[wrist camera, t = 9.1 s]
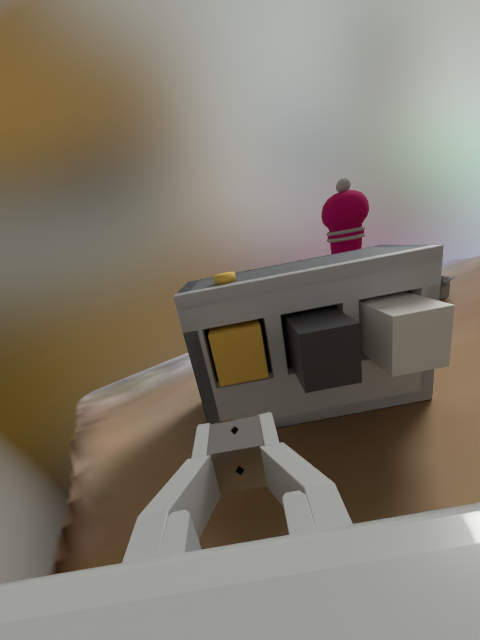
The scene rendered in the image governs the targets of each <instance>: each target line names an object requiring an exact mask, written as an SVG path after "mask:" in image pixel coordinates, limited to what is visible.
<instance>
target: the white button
mask: <svg viewBox="0 0 480 640" xmlns="http://www.w3.org/2000/svg"><path fill="white" fill-rule="evenodd" d="M454 308H455V305H453V304H449V303H446V302H442V301H438V300H434V299H431V298H427V297H423V296H420V295H416V294H412V293H408V292H402V293H397V294H391V295H386V296H381V297H376V298H370V299H365V300H360V301H359V322H360V329H361V352H362V353H363V354H364V355H366V356H367V357H368V358H369V359H371V360H372V361H373V362H374V363H375V364H377V365H378V366H379V367H380V368H382V369H383V370H384V371H385V372H387V373H388V374H389V375H390V376H392V377H394V376H399V375H405V374H410V373H415V372H421V371H426V370H431V369H437V368H442V367H447V366H449V361H450V350H451V339H452V329H453V318H454Z"/></svg>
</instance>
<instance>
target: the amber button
mask: <svg viewBox="0 0 480 640" xmlns="http://www.w3.org/2000/svg"><path fill="white" fill-rule="evenodd" d="M208 338H209V342H210V346H211V350H212V354H213V359H214V363H215V367H216V371H217V375H218V379H219V384H220V387H221V386H226V385H231V384H237V383H242V382H247V381H253V380H258V379H263V378H268V377H269V375H268V369H267V363H266V357H265V351H264V345H263V339H262V333H261V327H260V324H259V322H258V319H255V320H250V321H245V322H239V323H234V324H229V325H224V326H218V327H213V328H210V330H209V335H208Z"/></svg>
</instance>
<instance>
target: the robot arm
mask: <svg viewBox="0 0 480 640" xmlns="http://www.w3.org/2000/svg"><path fill="white" fill-rule="evenodd" d="M260 424H261V425H260ZM260 487H268V489H269V490H270V491H271V493H272V494H273V495H274V496H275V498H276V499H277V500H278V501H279V503H280V504H281V505H282V507H283V508H284V511H285V517H286V524H287V530H288V535H285V536H279V537H273V538H267V539H261V540H255V541H249V542H243V543H237V544H231V545H225V546H219V547H213V548H207V549H201V546H200V543H199V539H200V537H201V535H202V533H203V531H204V529H205V527H206V525H207V523H208V521H209V519H210V517H211V515H212V513H213V511H214V509H215V507H216V505H217V503H218V502H219V500H220V498H221V494H225V493H230V492H235V491H240V490H245V489H253V488H260ZM0 640H480V503H474V504H468V505H462V506H456V507H450V508H444V509H438V510H432V511H426V512H421V513H415V514H409V515H403V516H397V517H391V518H385V519H379V520H373V521H367V522H361V523H355V524H353V523H352V521H351V519H350V517H349V514H348V512H347V510H346V507H345V505H344V503H343V501H342V498H341V496H340V494H339V492H338V489H337V487H336V485H335V483H334V482H332V481H331V480H330V479H329V478H327V477H326V476H325V475H324V474H322V473H321V472H320V471H319V470H317V469H316V468H315V467H314V466H312V465H311V464H310V463H309V462H307V461H306V460H305V459H304V458H302V457H301V456H300V455H299V454H297V453H296V452H295V451H294V450H292V449H291V448H290V447H289V446H287V445H286V444H285V443H284V442H282V443H279V439H278V435H277V431H276V427H275V423H274V419H273V415H272V413H271V412H268V413H263V414H259V415H254V416H249V417H243V418H238V419H231V420H224V421H218V422H211V423H206V424H199V425H198V426H197V428H196V434H195V439H194V445H193V451H192V456H191V458H190V459H187V460H186V461H185V462H184V463H183V465H182V466H181V467H180V468H179V469H178V470H177V472H176V473H175V474H174V475H173V476H172V477H171V479H170V480H169V481H168V482H167V483H166V484H165V485H164V487H163V488H162V489H161V490H160V491H159V492H158V494H157V495H156V496H155V497H154V498H153V499H152V501H151V502H150V503H149V504H148V505H147V506H146V508H145V509H144V510H143V511H142V512H141V513H140V515H139V516H138V517H137V520H136V523H135V526H134V529H133V532H132V535H131V538H130V541H129V544H128V547H127V550H126V553H125V556H124V559H123V562H122V563H118V564H113V565H107V566H101V567H95V568H89V569H83V570H77V571H71V572H65V573H59V574H53V575H47V576H42V577H36V578H30V579H24V580H18V581H12V582H6V583H0Z"/></svg>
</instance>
